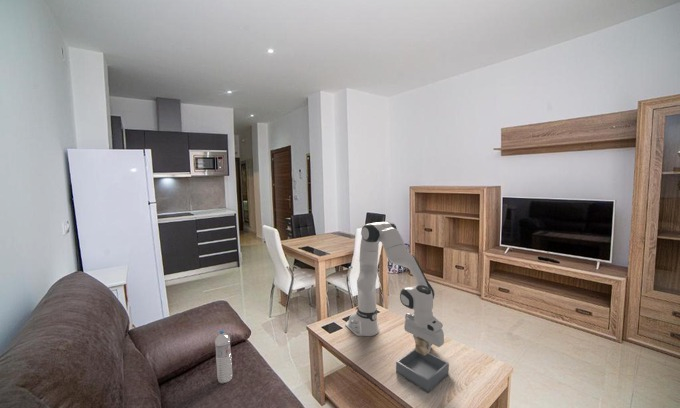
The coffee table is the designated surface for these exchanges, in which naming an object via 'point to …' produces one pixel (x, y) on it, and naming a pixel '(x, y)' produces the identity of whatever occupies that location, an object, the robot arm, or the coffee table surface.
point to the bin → (422, 369)
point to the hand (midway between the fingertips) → (423, 346)
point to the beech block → (422, 346)
